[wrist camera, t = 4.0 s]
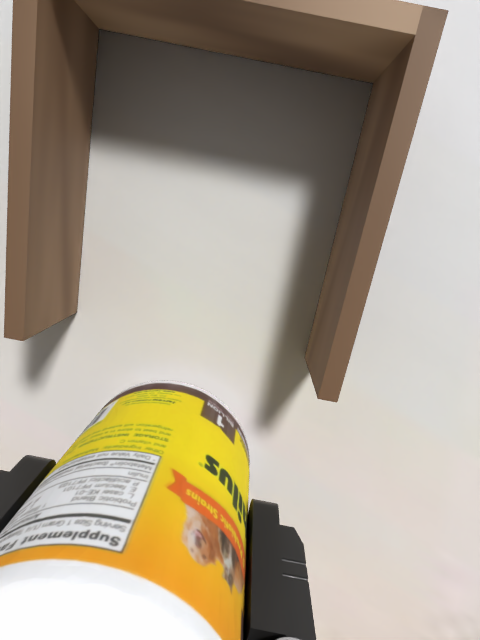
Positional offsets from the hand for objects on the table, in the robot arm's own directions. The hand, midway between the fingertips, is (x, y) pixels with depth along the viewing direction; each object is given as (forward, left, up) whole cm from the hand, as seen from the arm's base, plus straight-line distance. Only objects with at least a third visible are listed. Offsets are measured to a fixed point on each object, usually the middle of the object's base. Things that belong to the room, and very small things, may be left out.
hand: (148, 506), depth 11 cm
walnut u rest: (0, -9, -3) cm, 9 cm away
